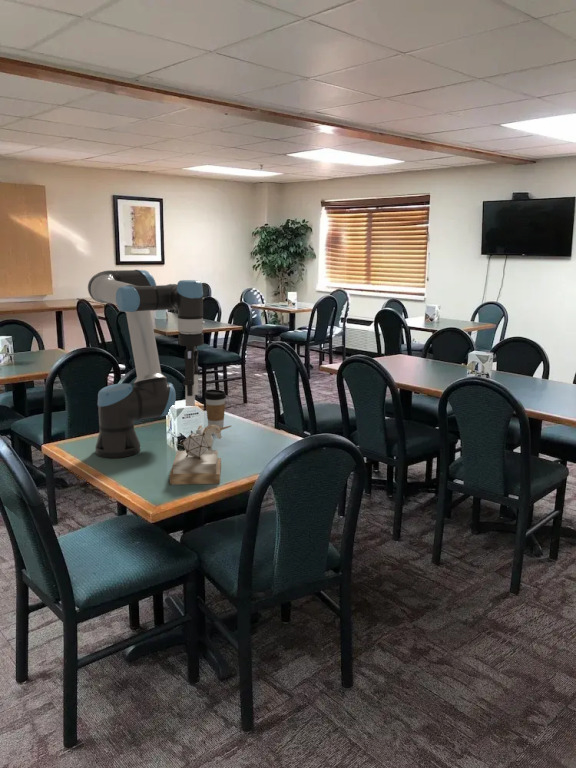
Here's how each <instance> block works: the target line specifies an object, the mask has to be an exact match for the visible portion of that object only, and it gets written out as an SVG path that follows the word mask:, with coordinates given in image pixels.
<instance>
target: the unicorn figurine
mask: <svg viewBox="0 0 576 768" xmlns="http://www.w3.org/2000/svg"><path fill="white" fill-rule="evenodd" d="M218 426H219V425H209V426H208V425H207V426H205V427H202V425H199V426H198V427H197V429H196V431H195V433H196V434H201V435H203V433H205V435H204V437H205V440H206V442H207V444H208V447H211V448H208V449H207V450H213V445H214V437H213V436H212V434H213V435H214V436H216V437H217V439H219V440H221V439H222V437H223V436H222V433H221V431H223V430H225V429H228V428H231V427H232V425H227V426H223V428H220V427H218Z"/></svg>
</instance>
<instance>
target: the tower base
mask: <svg viewBox="0 0 576 768" xmlns="http://www.w3.org/2000/svg"><path fill="white" fill-rule="evenodd" d="M218 452H219V450H218V449H215V450H214V449H212V450H208V449H207V450H206V451H205V452H204V453H203V454H202V455H201V456H200V460H199V458H198V457H194V456H189V455H188V457H186V456H187V453H186V450H177V451H176V454H175V457H174V460H173V463H172V466H171V469H170V473H169V485H170V484H173V485H172V486H174V484H175V485H212V484H213V485H215V484H216V485H217V484H218V485H219V484H220V482H221V474H222V457H219V453H218Z"/></svg>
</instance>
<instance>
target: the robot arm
mask: <svg viewBox="0 0 576 768" xmlns="http://www.w3.org/2000/svg"><path fill="white" fill-rule="evenodd" d="M203 290H204V289H203V283H202V282H201V281H200V280H195V279H187V280H186V279H185V280H184V279H183V280H179V281H178V282H177V283H169V284H162V285H159V284H158V285H157V283H156V280H155V278H154V276H153V274H152V273H151V272H149V271H148V270H143V269H141V270H140V269H130V270H128V269H127V270H119V269H118V270H103V271H100V272H97V273H96V274H94V275H93V276H91V278H90V280H89V281H88V284H87V291H88V294H89V296H90V297H91V299H92V300H94V301H95V302H98V303H100V304H113V305H115V306H117V308H118V310H119V311H120V312H124V313H125V314H126V315H125V316H126V320H127V326H128V332H129V337H130V338H129V339H130V343H131V349H132V355H133V361H134V365H135V367H134V368H135V373H136V379H135V380H134V382H133V385H132V384H131V383H129V382H128V383H127V382H126V383H125V382H123V383H115V384H110V385H107V386H105V387H103V388H101V389H100V390H99V391H98V394H97V408H98V411H97V412H98V423H99V424H98V425H99V434H98V437H97V441H96V443H95V454H96V456H98V457H101V458H105V459H106V458H107V459H119V458H127V457H130V456H134V455H137V454H139V452H140V451H141V443H140V440H139V438H138V436H137V433H136V431H135V421H139V420H144V419H145V420H146V419H152V418H153V419H154V418H161V417H165V416H169V415H168V412H169V409H170V407H171V406H172V405H175V406H176V390H175V387H174V384H172V383H171V382H168V380H167V376H165V375H164V374H162V369H161V365H160V364H161V363H160V358H159V352H158V347H157V342H156V341H157V340H156V337H155V336H156V335H155V330H154V325H153V318H152V313H151V311H167V310H168V311H170V310H171V311H172V310H177V331H178V332H179V333H178V345H179V346H182V347H186V350H184V352H183V353H184V354H183V355H184V381H182V386H184V387H185V389H184V391H185V392H184V393H185V407H195V406H196V396H199V375H200V374H201V370H199V364H198V362H199V350H198V347H200V346H203V345H204V343H205V342H204V340H205V339H204V333H203V331H204V325H205V324H206V321H205V320H204V291H203Z"/></svg>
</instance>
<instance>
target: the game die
mask: <svg viewBox="0 0 576 768" xmlns="http://www.w3.org/2000/svg"><path fill="white" fill-rule="evenodd" d="M204 435H205V433H203V435H201V434H196V432H193V431H192V430H190V434H189V435H188V436H187V437H186V438H185V439H184V440H183V441H179V443H180V444H182V445H183V447H184V451H186V453H187V456H186V457H188V455H189V456H194V457H198V458H199V460H200V456H201V455H202V454H203V453H204V452H205V451H206V450H208V448H211V447H208V444H207V442H206V440H205V437H204Z"/></svg>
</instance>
